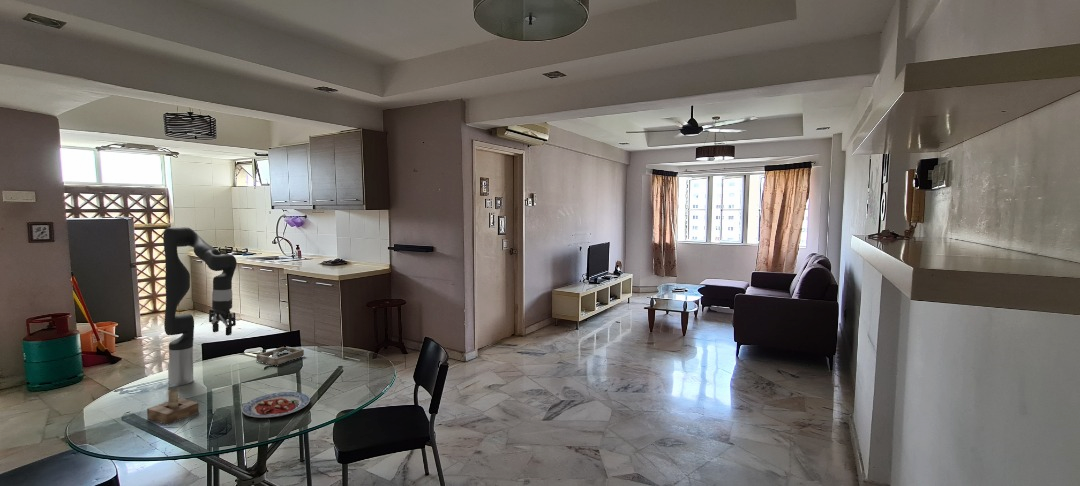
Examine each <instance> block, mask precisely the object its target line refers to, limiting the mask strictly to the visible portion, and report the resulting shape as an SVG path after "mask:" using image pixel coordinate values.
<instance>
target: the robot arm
mask: <svg viewBox="0 0 1080 486" xmlns="http://www.w3.org/2000/svg"><path fill="white" fill-rule="evenodd" d="M162 239H163V240H162V241H163V248H164V249H163V250H164V258H165V259H164V260H165V274H164V275H165V276H164V277H165V281H164V282H165V283H164V284H165V287H164V289H165V309H164V310H165V313H164V325H163V326H164V332H165V334H166V335H167V336H177V335H181V336H179V337H178V338H175V339H174V340H172V341H171V342H169V343H168V364H167V368H168V369H167V371H168V372H167V373H168V375H167V376H168V379H167V381H168V384H169V386H170V385H178V386H186V385H188V384H191V383H192V382H194V340H195V339H194V337H195V336H194V334H195V318H194V315H192V314H191V313H184V314H183V313H182V314H176V312H177V309H178V306H179V304H180V303H181V301H182V300H183V298H184V297H186V295H187V294H188V292H189V291H190V287H191V274H190V271H189V270H188V269H187V267H186V266H185V265H184V263H183V261H181V258H180V257H179V254H178V248H181V247H183V248H184V247H191V248H193V253H194V255H195V256H196V257H197V258H198V259H200V260H201V261H203V262H204V263H205V264H206V265H207V267H208V269H210V270H211V271H214V272H221V271H222V272H221V273H220V274H218V275H216V276H214V277H213V279H212V294H211V296H212V297H211V307H212V308H211V309H209V310H208V311H209V312H208V323H211V325H212V333H218V332H219V328H220V326H219V322H222V324H224V326H225V336H231V335H232V333H233V332H232V331H233V327H235V326H237V325H236V324H237V322H236V321H237V320H236V319H237V317H236V313H235V312H231V310H232V309H233V287H232V286H233V285H232V284H233V281H232V280H233V277H234V274H235V270H236V267H237V265H238V263H237V258H236V257H235V255H233V254H230V253H229V254H221V252H220V251H219V250H218V249H217V248H215V247H213V246H212V245H210V244H208V243H207V242H206V241H205V240H204V239H202V237H201V236H200V235H199V234H198V233H197V232H195V230H194V229H192V228H190V227H186V226H181V227H179V226H178V227H176V226H175V227H167V228H165V230H164V231H163V238H162Z"/></svg>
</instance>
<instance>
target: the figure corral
mask: <svg viewBox="0 0 1080 486" xmlns="http://www.w3.org/2000/svg"><path fill="white" fill-rule="evenodd" d="M277 350H278V351H279V352H282V351H284V350H287V351H290V352H292V353H290V354H283V355H280V356H278V358H274V357H269V356H270V355H273V352H272V351H275V352H277ZM303 355H304V356H305V350H304V349H301V348H295V347H291V346H286V347H284V346H281V347H278V348H275V349H272V350H269V351H265V352H262V353H259V354H256V362H257V361H258V362H263V363H267V364H266V365H268V364H271V365H270V366H273V365H275V366H274V367H277V366H276V365H278V364H281V363H283V362H285V361H288V360H291V359H294V358H297V357H300V356H303ZM258 362H257V363H258ZM263 363H262V364H263ZM281 365H282V364H281ZM278 366H279V365H278Z"/></svg>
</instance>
